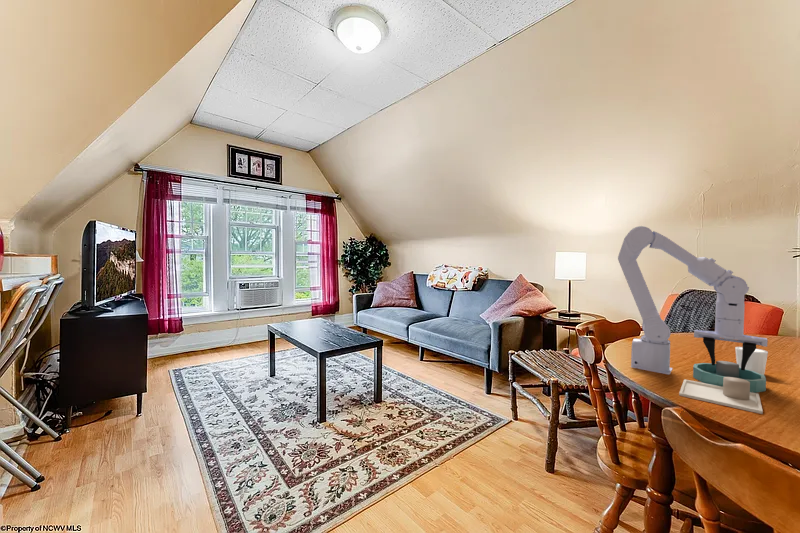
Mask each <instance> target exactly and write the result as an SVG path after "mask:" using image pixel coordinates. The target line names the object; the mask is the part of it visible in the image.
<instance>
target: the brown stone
mask: <svg viewBox="0 0 800 533" xmlns="http://www.w3.org/2000/svg"><path fill="white" fill-rule="evenodd" d="M723 395H725V396H727V397H730V398H733V399H738V400H749V398H750V382H749V381H747V380H744V379H740V378H735V377H724V378H723Z"/></svg>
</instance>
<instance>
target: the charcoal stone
mask: <svg viewBox="0 0 800 533" xmlns="http://www.w3.org/2000/svg"><path fill="white" fill-rule="evenodd" d="M715 364H716V375H719V376H725V377H735V378H739V364H737V362H732V361H726V360H715Z"/></svg>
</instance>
